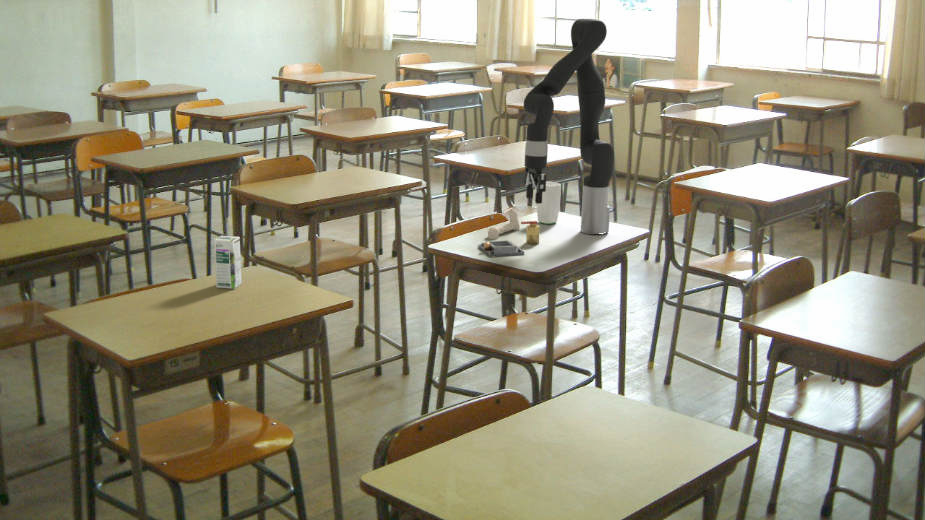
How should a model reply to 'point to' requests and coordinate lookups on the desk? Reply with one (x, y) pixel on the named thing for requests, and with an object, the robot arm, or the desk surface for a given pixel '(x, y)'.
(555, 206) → the cup
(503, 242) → the grey compartment tray
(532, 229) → the valve
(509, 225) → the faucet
